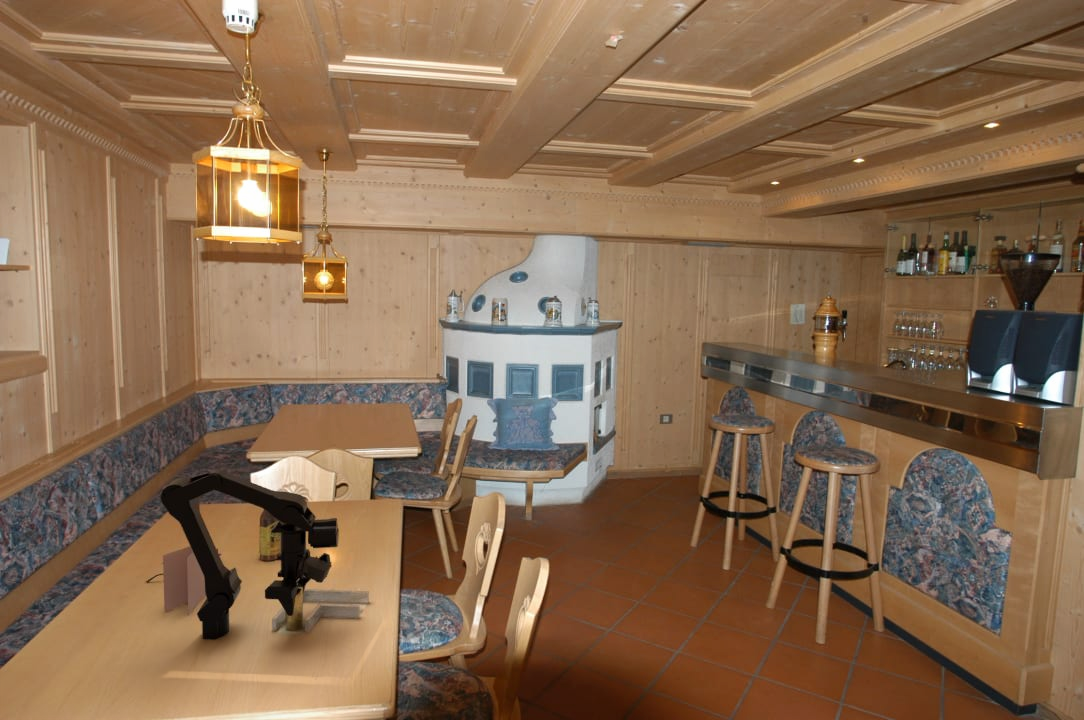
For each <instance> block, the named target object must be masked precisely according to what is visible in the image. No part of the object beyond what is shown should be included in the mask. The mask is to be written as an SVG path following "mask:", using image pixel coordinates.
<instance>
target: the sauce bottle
mask: <svg viewBox="0 0 1084 720" xmlns="http://www.w3.org/2000/svg"><path fill="white" fill-rule="evenodd" d="M278 522H279V520H278V519H276V518H274V517H273V516H272V515H271V514H270V513H268V512H267V511H266V510H264V509H263V511H262V512H261V514H260V517H259V527H258V528H259V529H258V531H259V533H258V535H259V537H258V539H259V540H258V541H259V542H258V543H259V545H258V549H259V552H258V554H259V559H260V560H261V561H267V562H269V561H274V560H277V556H278V555H279V554H280V553H281V536H280V533H272V532H271V531H272V529H273V527H274V526H275V525H276V524H277V523H278Z"/></svg>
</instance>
